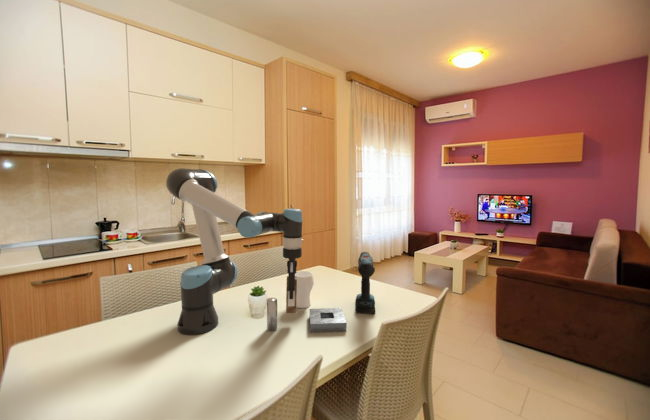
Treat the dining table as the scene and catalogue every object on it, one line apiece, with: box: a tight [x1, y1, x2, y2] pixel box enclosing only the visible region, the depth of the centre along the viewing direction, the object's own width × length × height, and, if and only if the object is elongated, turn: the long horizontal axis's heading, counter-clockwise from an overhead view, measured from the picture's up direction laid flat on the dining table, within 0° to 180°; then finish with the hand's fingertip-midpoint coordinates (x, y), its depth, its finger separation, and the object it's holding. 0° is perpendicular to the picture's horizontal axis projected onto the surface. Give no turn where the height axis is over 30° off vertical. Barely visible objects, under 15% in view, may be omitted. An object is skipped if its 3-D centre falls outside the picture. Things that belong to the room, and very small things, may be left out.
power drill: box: [355, 251, 376, 315], centre depth 137 cm, size 9×23×25 cm, turn 174°
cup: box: [295, 270, 314, 309], centre depth 141 cm, size 11×11×15 cm
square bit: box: [285, 275, 297, 314], centre depth 121 cm, size 4×4×14 cm
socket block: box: [309, 307, 348, 334], centre depth 122 cm, size 14×14×4 cm
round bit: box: [266, 297, 278, 333], centre depth 117 cm, size 4×4×12 cm
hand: (291, 303), depth 121 cm, fingers closed on square bit, 4 cm apart
